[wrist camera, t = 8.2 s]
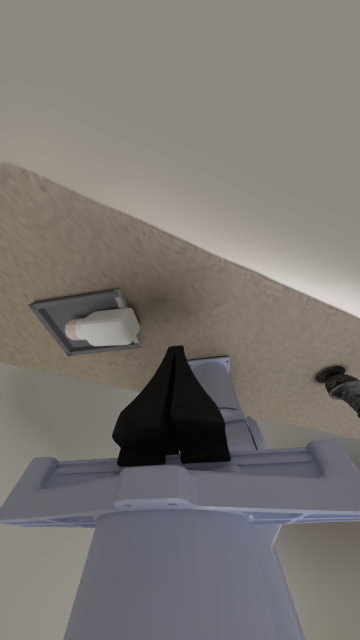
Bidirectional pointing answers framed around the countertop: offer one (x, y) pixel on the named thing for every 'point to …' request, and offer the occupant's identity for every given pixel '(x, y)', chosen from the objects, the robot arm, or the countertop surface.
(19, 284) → the countertop surface
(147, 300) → the countertop surface
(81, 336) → the pepper shaker
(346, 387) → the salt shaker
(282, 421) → the countertop surface
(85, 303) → the tray
